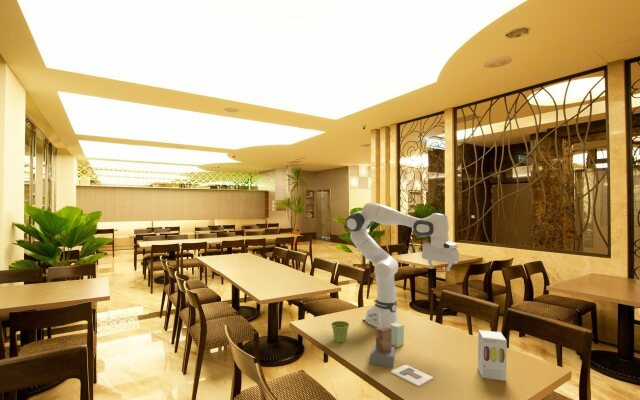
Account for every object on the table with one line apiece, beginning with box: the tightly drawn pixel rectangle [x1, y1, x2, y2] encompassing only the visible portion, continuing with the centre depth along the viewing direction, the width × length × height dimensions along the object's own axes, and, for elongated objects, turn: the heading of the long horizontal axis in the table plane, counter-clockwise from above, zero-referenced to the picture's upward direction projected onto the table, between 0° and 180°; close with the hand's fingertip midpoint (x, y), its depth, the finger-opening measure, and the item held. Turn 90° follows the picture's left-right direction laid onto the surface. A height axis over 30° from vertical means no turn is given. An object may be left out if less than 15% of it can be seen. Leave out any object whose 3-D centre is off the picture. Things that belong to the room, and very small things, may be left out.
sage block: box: [390, 322, 405, 348], centre depth 171 cm, size 5×5×10 cm
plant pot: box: [330, 320, 350, 343], centre depth 175 cm, size 9×9×9 cm
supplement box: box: [477, 329, 508, 382], centre depth 142 cm, size 10×9×17 cm
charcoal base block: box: [370, 344, 396, 368], centre depth 153 cm, size 10×10×5 cm
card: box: [390, 364, 434, 387], centre depth 140 cm, size 14×10×1 cm
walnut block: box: [375, 326, 393, 354], centre depth 153 cm, size 5×5×10 cm
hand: (439, 269), depth 178 cm, fingers open, 8 cm apart
